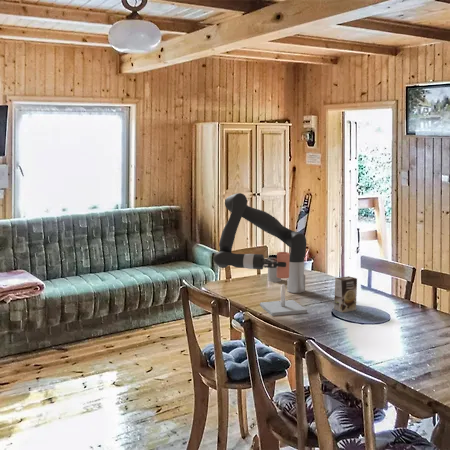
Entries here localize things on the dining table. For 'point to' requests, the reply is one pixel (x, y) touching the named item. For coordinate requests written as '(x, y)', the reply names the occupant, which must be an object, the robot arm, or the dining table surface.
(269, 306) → the post board
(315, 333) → the dining table surface
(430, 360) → the dining table surface
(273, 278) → the glass holder
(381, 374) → the dining table surface
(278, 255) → the sleeve
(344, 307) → the coffee box
